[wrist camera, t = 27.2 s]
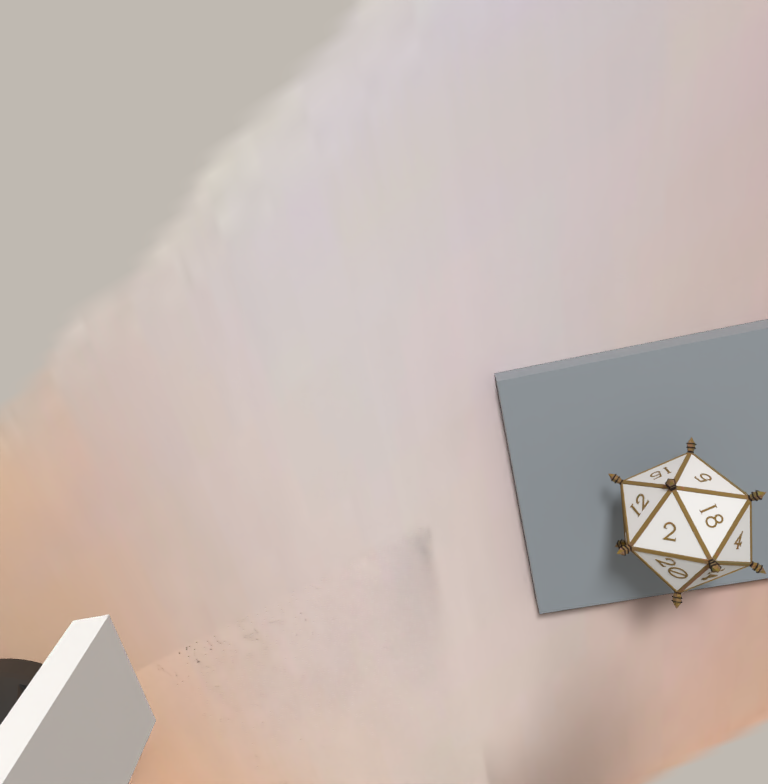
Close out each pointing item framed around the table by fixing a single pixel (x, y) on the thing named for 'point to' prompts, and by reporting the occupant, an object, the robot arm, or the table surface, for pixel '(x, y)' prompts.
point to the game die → (687, 522)
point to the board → (630, 451)
